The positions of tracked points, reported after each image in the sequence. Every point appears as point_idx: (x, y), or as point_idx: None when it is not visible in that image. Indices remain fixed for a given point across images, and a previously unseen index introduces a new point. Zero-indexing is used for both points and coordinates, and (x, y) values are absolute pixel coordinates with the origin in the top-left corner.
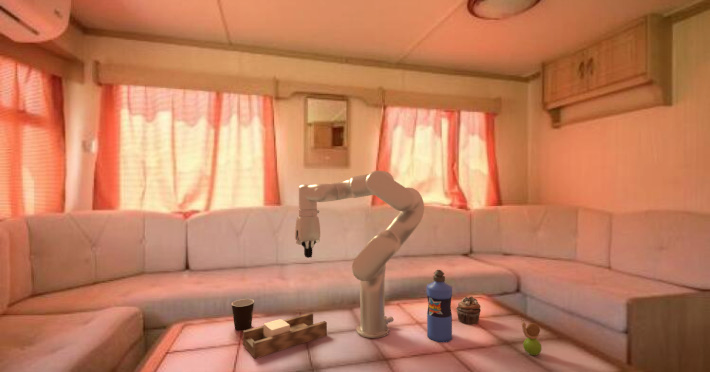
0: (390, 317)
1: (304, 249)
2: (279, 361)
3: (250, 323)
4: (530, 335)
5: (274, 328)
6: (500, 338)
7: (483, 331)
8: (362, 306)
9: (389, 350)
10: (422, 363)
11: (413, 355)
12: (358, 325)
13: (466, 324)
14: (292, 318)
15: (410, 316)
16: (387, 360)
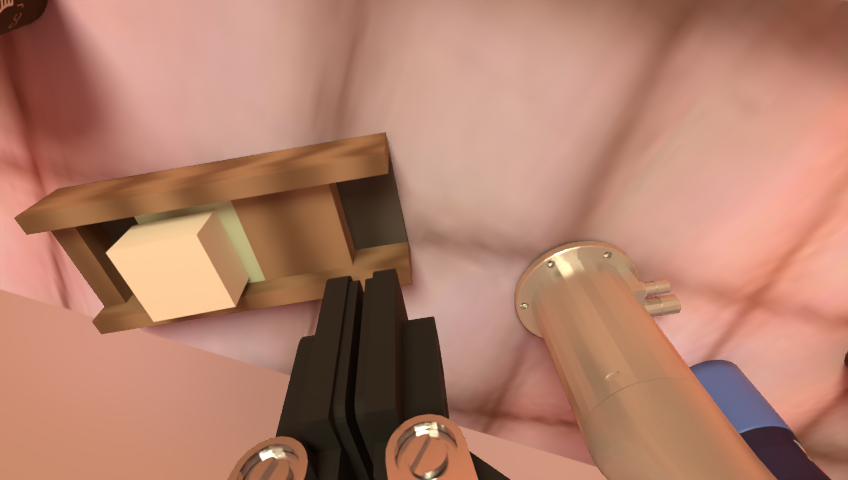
0: (670, 312)
1: (283, 428)
2: (214, 336)
3: (29, 13)
4: None
5: (165, 312)
6: (803, 434)
7: (822, 402)
8: (561, 377)
9: (530, 390)
10: (552, 447)
11: (563, 422)
12: (550, 259)
13: (845, 362)
14: (268, 183)
15: (793, 245)
16: (493, 419)
